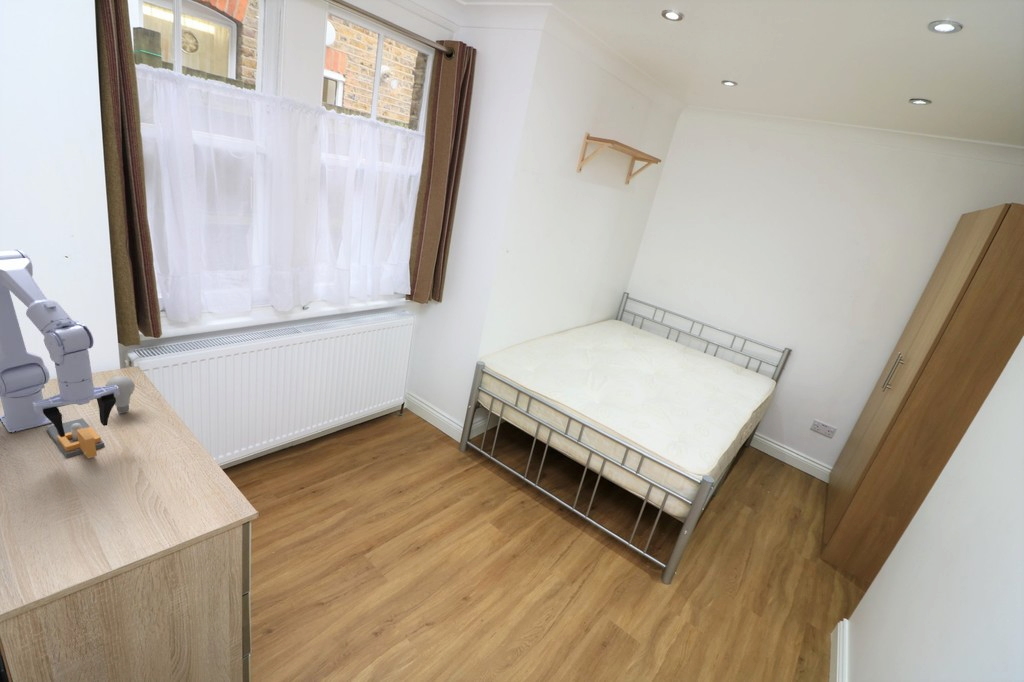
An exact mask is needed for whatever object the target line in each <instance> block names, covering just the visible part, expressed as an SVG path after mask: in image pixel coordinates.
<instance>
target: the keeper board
mask: <svg viewBox="0 0 1024 682" xmlns="http://www.w3.org/2000/svg"><path fill="white" fill-rule="evenodd" d="M62 425H63V429H64V432H65V433H69V432H71V433H72V439H69V442H70V443H73V442H77V441H79V440H78V434H77V430H78V429H82V428H88V427H91V426H90V425H89V424H88V423H87V421H86V420H85V419H84V418H78V419H74V420H70V421H67V422H62ZM45 429H46V432H47V433H48V434H49V435H50V437H51V439H53V441H54V442H55V444H56V445H57V446H58V448H59V449H60V450H61V452H62V454H64V456H65V458H71V457H74V456H77V455H80V454H84V452H83V451H82V450H81V449H80V448H77V449H74V450H70V451H67V452H66V450H65V449H64V448H63V446H62V445H61V444H60V442H59V441H58V439H57V435H59V434H58V432H57V429H56V427H55V426H54V424H53V425H49V426H46V427H45ZM95 447H96V450H97V449H101V448H104V447H105V443H104V441H103V440H102V439H101V442H98V443H95Z"/></svg>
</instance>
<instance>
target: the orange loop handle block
mask: <svg viewBox="0 0 1024 682" xmlns="http://www.w3.org/2000/svg"><path fill="white" fill-rule="evenodd" d="M77 434H78V440H79V441H77V442H73V443H70V442H69V439H72V433H71V432H69V433H65V436H64V437H60V436H59V435H57V439H58V441H59V442H60V444H61V445H62V446H63V448H64V449H65V450H66V452H67V451H70V450H74V449H77V448H80V449H81V450H82V451H83V452H84V453H83V454H84V455H85V457H86V458H87V459H90V458H95V457H97V449H96V447H95V443H98V442H101V440H102V439H101V436H100V435H99V434H98V433H97V432H96V430H95V429H93V427H92V426H90V427H88V428H82V429H78V430H77Z"/></svg>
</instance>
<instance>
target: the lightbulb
mask: <svg viewBox="0 0 1024 682" xmlns="http://www.w3.org/2000/svg"><path fill="white" fill-rule="evenodd" d="M112 385H116V386H117V387H118V388H119V393H120V395H116V396H114V397H115V398H116V403H115V404H114V406H115V407H116V412H117V413H121V414H126V413H127V412H129V410H130V400H131V396H132V395H133V393H134V391H135V387H136V386H135V382H134V381H133V379H132V378H130V377H128V376H126V375H117V376H114V377H112V378H110V379H108V380H107V382H106V384H105V386H112Z"/></svg>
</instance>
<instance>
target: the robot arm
mask: <svg viewBox="0 0 1024 682" xmlns="http://www.w3.org/2000/svg"><path fill="white" fill-rule="evenodd" d="M33 270H34V269H33V263H32V260H31V259H30V257H29V255H28V254H27V253H26V252H24V251H23V250H21V249H15V250H4V251H3V250H1V251H0V401H1V402H0V403H1V405H2V410H3V414H2V415H0V419H1V420H0V421H1V423H2V422H3V423H2V424H3V426H4V425H5V426H4V427H5V429H6V431H7V432H8V433H9V432H12V433H16V432H19V431H20V432H21V431H24V430H28V429H32V428H36V427H40V426H45V425H48V424H53V425H54V426H55V427H56V429H57V432H58V434H59V436H60V437H64V436H65V432H64V429H63V425H62V423H63V414H62V413H61V412H60V410H59V408H62V407H65V406H70V405H78V406H82V405H87V404H90V402H91V401H92V400H97V401H96V402H97V406H98V411H99V413H98V414H99V421H100V423H101V425H102V426H104V427H105V426H108V424H109V423H108V422H109V421H108V420H109V417H110V414H111V413H112V409H113V408H114V406H115V403H116V398H115V397H114V396H116V395H120V393H119V388H118V387H117V386H116V385H112V386H106V385H105V386H98V387H97V386H95V387H94V380H93V373H92V367H91V359H90V353H89V349H91V348H93V346H94V337H93V335H92V332H91V331H90V329H89V328H88V326H86V324H83V323H80V322H79V321H78V320H73V319H72V317H70V315H69V314H68V313H67V312H66V311H65V309H64V308H63V307H62V306H61V305H60V304H59V303H58V302H57V301H55V300H49V299H48V298H47V297H46V296H45V294H44V293H43V291H42V289H41V287H39V286H38V284H37V283H36V281H35V279H34V278H33V275H34V273H33ZM11 293H12V294H13V295H14V296H15V297H16V298H17V299H18V300H19V301H20V302H21V303H23V305H24V306H26V308H27V309H26V312H25V314H26V315H25V316H26V317H27V318H28V319H29V320H30V322H32V324H33V325H34V326H35V327H36V329H38V331H39V332H40V334H42V335H43V337H44V338H43V342H44V345H45V347H46V349H47V351H48V354H49V357H50V359H51V361H52V362H54V368H55V373H56V379H57V383H58V384H57V385H58V390H59V394H56V395H52V396H50V397H47V398H44V395H43V390H44V389H45V386H46V384H48V383H49V380H50V377H51V376H50V372H49V369H48V367H47V366H46V365H45V363H44V360H43V358H42V357H41V356H40V355H38V354H36V353H33V352H29V351H28V350H27V348H26V344H25V341H24V337H23V333H22V330H21V326H20V323H19V320H18V316H17V313H16V309H15V306H14V301H13V298H12V295H11ZM42 389H43V390H42ZM15 431H16V432H15Z"/></svg>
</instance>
